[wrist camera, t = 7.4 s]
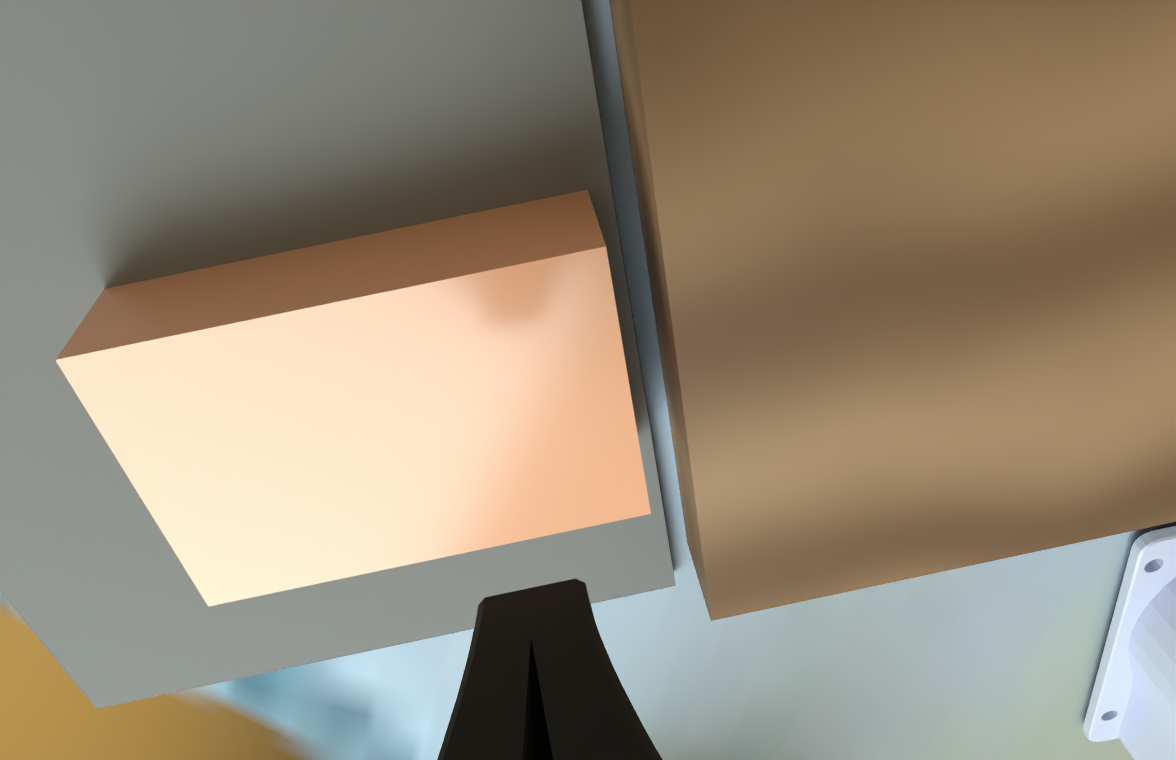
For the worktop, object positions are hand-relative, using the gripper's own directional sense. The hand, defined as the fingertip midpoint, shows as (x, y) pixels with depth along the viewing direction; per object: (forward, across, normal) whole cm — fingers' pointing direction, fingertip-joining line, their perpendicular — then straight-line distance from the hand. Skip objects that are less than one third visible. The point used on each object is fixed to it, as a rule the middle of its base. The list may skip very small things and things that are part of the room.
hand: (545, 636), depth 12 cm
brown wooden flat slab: (+8, -10, 0) cm, 13 cm away
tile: (+6, +2, 0) cm, 7 cm away
